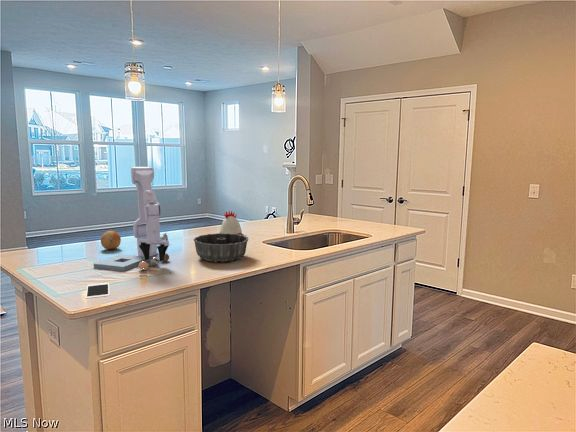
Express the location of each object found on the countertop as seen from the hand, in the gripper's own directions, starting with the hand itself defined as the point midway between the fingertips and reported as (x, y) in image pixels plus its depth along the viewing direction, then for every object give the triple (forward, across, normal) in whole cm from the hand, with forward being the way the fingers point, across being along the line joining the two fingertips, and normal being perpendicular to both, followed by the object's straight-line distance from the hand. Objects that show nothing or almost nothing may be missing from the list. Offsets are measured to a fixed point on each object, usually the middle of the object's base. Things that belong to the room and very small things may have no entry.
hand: (154, 260), depth 189 cm
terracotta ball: (+1, 0, -8) cm, 8 cm away
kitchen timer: (+3, 0, +79) cm, 79 cm away
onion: (+3, -41, +20) cm, 46 cm away
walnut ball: (+1, 0, +8) cm, 8 cm away
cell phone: (+3, +1, -36) cm, 36 cm away
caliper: (+3, -24, +33) cm, 41 cm away
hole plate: (+3, -15, -3) cm, 16 cm away
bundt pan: (+3, +22, +23) cm, 32 cm away
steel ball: (+1, 0, 0) cm, 1 cm away
